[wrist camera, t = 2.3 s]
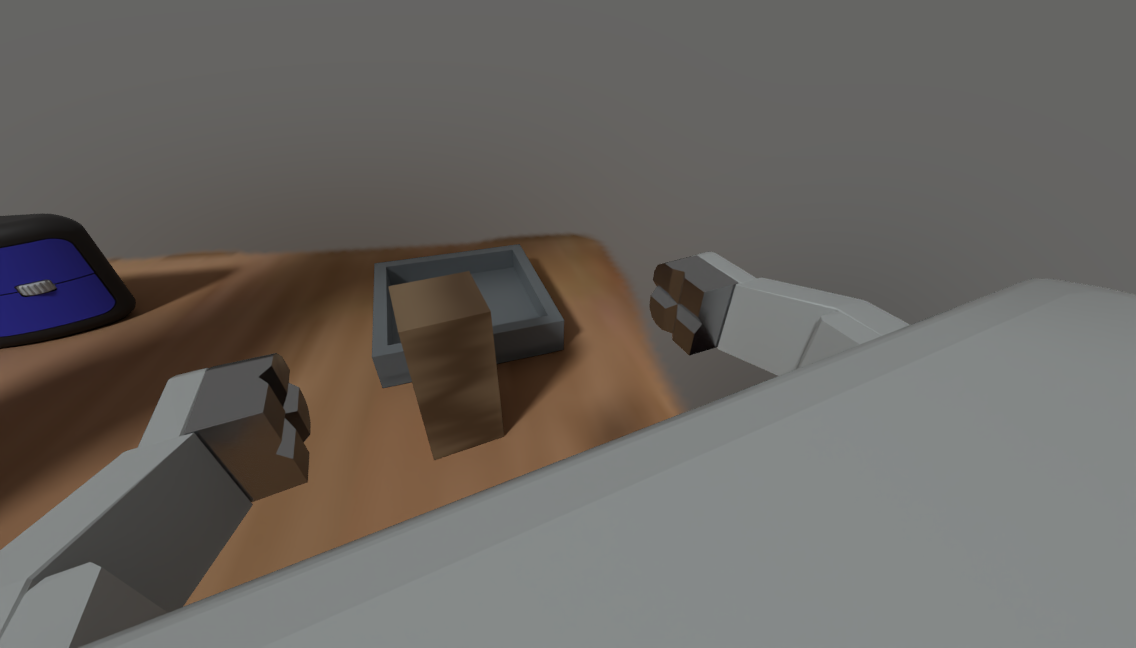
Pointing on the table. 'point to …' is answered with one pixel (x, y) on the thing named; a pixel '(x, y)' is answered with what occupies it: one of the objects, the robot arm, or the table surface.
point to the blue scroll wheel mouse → (54, 281)
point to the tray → (506, 287)
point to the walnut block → (450, 360)
